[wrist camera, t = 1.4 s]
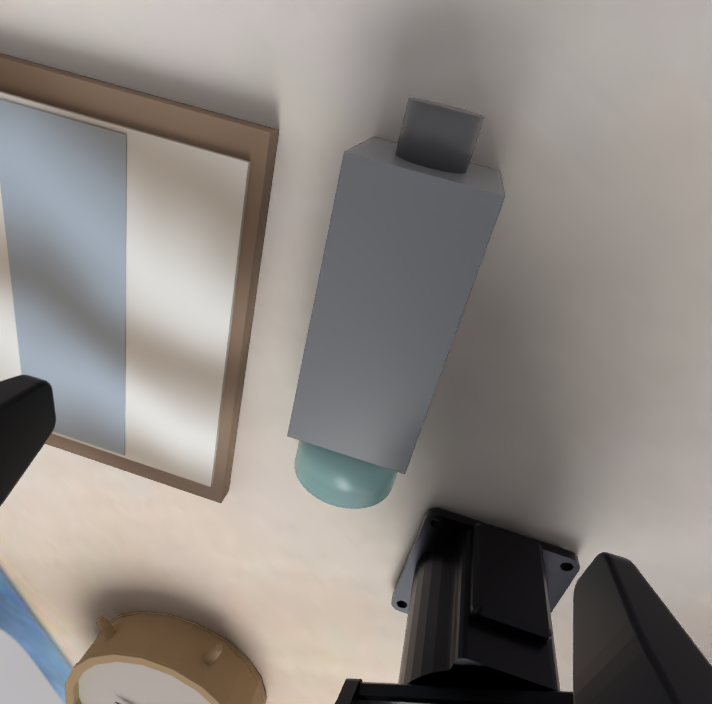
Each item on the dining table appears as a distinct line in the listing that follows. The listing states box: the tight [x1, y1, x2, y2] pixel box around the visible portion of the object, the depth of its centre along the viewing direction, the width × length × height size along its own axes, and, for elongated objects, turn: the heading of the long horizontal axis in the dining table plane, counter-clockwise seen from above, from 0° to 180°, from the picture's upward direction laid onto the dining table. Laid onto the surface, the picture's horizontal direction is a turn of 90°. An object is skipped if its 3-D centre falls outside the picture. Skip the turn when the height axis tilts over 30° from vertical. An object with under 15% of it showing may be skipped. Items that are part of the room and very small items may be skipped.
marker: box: [287, 98, 505, 509], centre depth 17 cm, size 13×4×4 cm, turn 167°
